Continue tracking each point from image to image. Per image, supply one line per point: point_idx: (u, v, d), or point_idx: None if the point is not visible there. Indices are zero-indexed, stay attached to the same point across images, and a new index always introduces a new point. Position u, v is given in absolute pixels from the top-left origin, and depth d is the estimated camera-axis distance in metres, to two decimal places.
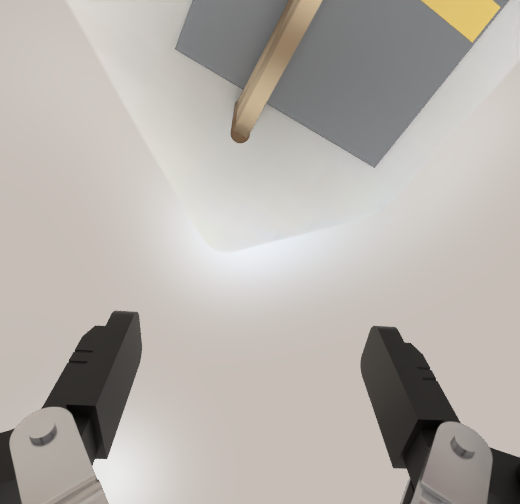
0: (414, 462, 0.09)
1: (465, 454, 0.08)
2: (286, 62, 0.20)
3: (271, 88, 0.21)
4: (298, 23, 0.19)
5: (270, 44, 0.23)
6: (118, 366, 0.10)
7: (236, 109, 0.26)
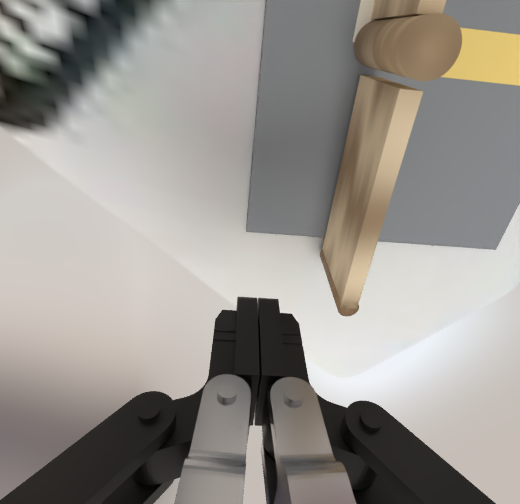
0: (264, 417, 0.10)
1: (289, 403, 0.09)
2: (377, 233, 0.18)
3: (369, 260, 0.19)
4: (379, 198, 0.17)
5: (344, 204, 0.21)
6: None
7: (327, 268, 0.24)
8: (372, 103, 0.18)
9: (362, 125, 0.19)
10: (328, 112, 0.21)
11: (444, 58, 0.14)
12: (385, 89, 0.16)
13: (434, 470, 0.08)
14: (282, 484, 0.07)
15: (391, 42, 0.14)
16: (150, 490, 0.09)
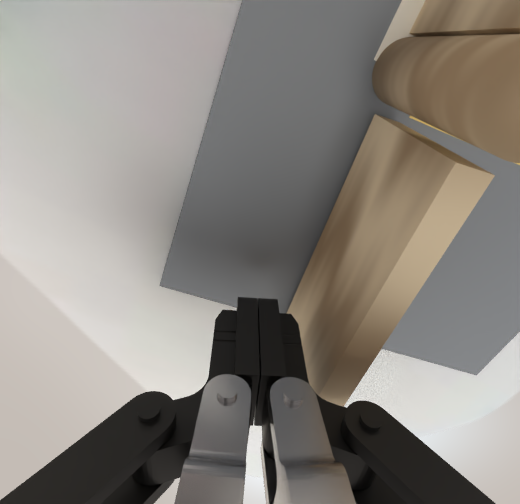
0: (263, 417, 0.10)
1: (289, 403, 0.09)
2: (361, 374, 0.11)
3: None
4: (376, 326, 0.10)
5: (317, 298, 0.14)
6: None
7: None
8: (389, 166, 0.11)
9: (365, 193, 0.12)
10: (313, 153, 0.14)
11: None
12: (420, 152, 0.09)
13: (435, 470, 0.08)
14: (282, 484, 0.07)
15: (459, 69, 0.07)
16: (150, 490, 0.09)
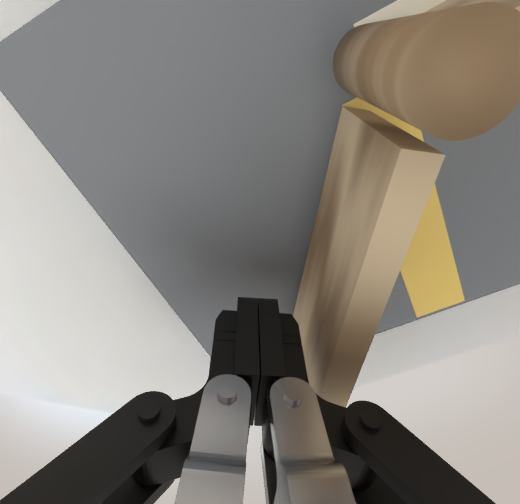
0: (263, 417, 0.10)
1: (289, 403, 0.09)
2: (357, 369, 0.11)
3: (343, 403, 0.12)
4: (360, 321, 0.10)
5: (313, 297, 0.14)
6: None
7: None
8: (355, 158, 0.11)
9: (340, 188, 0.12)
10: (247, 61, 0.12)
11: (461, 116, 0.07)
12: (375, 141, 0.09)
13: (434, 469, 0.08)
14: (282, 484, 0.07)
15: (428, 14, 0.07)
16: (150, 490, 0.09)
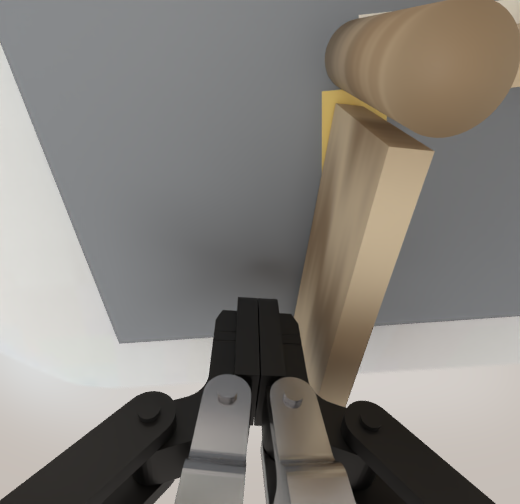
0: (263, 417, 0.10)
1: (289, 403, 0.09)
2: (355, 368, 0.11)
3: (343, 401, 0.12)
4: (356, 319, 0.10)
5: (312, 295, 0.14)
6: None
7: None
8: (348, 156, 0.11)
9: (335, 186, 0.12)
10: (245, 4, 0.12)
11: (433, 110, 0.07)
12: (365, 139, 0.09)
13: (434, 470, 0.08)
14: (282, 484, 0.07)
15: None
16: (150, 490, 0.09)
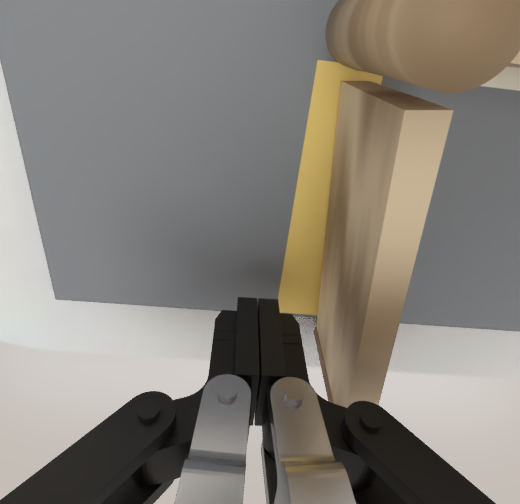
0: (264, 417, 0.10)
1: (289, 403, 0.09)
2: (389, 348, 0.11)
3: (379, 384, 0.11)
4: (386, 297, 0.10)
5: (335, 280, 0.14)
6: None
7: (323, 362, 0.16)
8: (360, 130, 0.10)
9: (349, 164, 0.12)
10: None
11: (440, 59, 0.06)
12: (378, 109, 0.09)
13: (435, 469, 0.08)
14: (282, 484, 0.07)
15: None
16: (150, 490, 0.09)
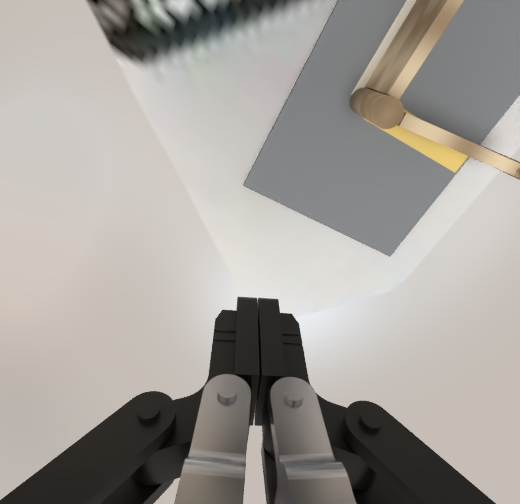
0: (263, 417, 0.10)
1: (289, 403, 0.09)
2: (477, 146, 0.28)
3: (493, 153, 0.29)
4: (454, 142, 0.28)
5: None
6: None
7: None
8: None
9: None
10: (323, 128, 0.33)
11: (393, 120, 0.26)
12: None
13: (435, 470, 0.08)
14: (282, 484, 0.07)
15: (371, 102, 0.27)
16: (150, 490, 0.09)
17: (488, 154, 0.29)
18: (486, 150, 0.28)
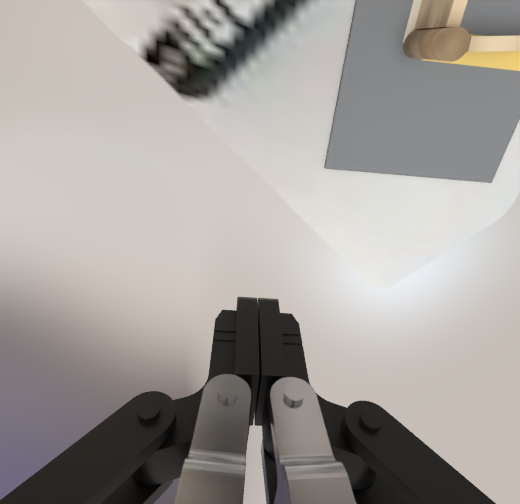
0: (263, 417, 0.10)
1: (289, 403, 0.09)
2: None
3: None
4: None
5: None
6: None
7: None
8: None
9: None
10: (385, 86, 0.34)
11: (460, 49, 0.26)
12: None
13: (435, 470, 0.08)
14: (282, 484, 0.07)
15: (432, 41, 0.27)
16: (150, 490, 0.09)
17: None
18: None
